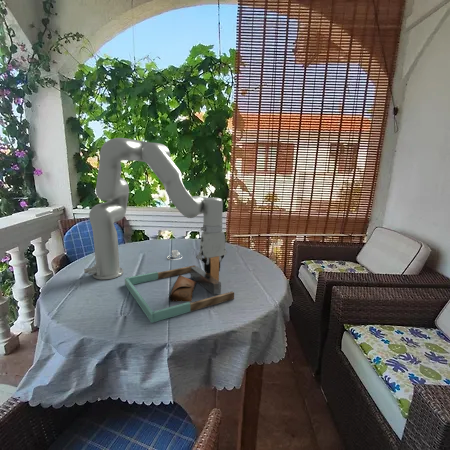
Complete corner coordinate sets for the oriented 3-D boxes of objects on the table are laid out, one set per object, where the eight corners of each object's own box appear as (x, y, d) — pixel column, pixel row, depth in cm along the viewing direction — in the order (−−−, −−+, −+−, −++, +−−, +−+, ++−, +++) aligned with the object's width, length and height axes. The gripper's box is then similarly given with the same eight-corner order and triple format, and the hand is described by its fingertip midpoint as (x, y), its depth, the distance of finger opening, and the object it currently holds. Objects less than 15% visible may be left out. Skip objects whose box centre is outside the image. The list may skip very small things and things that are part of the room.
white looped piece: (175, 254, 156) (175, 247, 155) (186, 257, 152) (186, 250, 151) (163, 258, 149) (163, 251, 148) (174, 261, 145) (174, 254, 144)
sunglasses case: (193, 301, 104) (183, 286, 102) (176, 310, 104) (166, 295, 103) (197, 281, 121) (189, 268, 120) (183, 289, 122) (174, 276, 121)
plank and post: (214, 295, 109) (214, 260, 106) (190, 277, 125) (190, 246, 122) (229, 291, 113) (230, 257, 110) (204, 274, 129) (205, 244, 126)
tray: (151, 322, 90) (151, 314, 89) (125, 284, 116) (124, 277, 116) (190, 311, 97) (190, 303, 96) (157, 278, 124) (157, 271, 123)
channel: (190, 311, 97) (190, 304, 97) (157, 278, 124) (157, 272, 123) (234, 298, 107) (234, 292, 106) (194, 270, 133) (194, 265, 133)
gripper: (198, 233, 107) (198, 278, 111) (235, 228, 116) (234, 270, 120) (189, 229, 113) (190, 272, 117) (225, 224, 122) (224, 265, 126)
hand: (212, 271), depth 119 cm, fingers closed on plank and post, 4 cm apart
